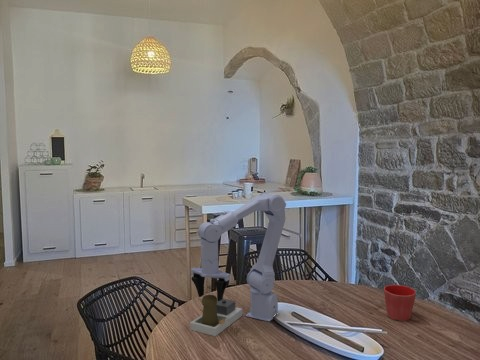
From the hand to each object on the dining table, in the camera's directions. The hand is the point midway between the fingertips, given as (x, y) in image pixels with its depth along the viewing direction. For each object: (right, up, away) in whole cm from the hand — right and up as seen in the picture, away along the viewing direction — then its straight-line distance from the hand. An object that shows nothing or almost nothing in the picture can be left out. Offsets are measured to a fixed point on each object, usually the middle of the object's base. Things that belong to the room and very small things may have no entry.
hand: (210, 298), depth 138 cm
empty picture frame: (+2, -10, +4) cm, 11 cm away
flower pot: (+66, -9, +8) cm, 68 cm away
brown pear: (0, -10, +1) cm, 10 cm away
